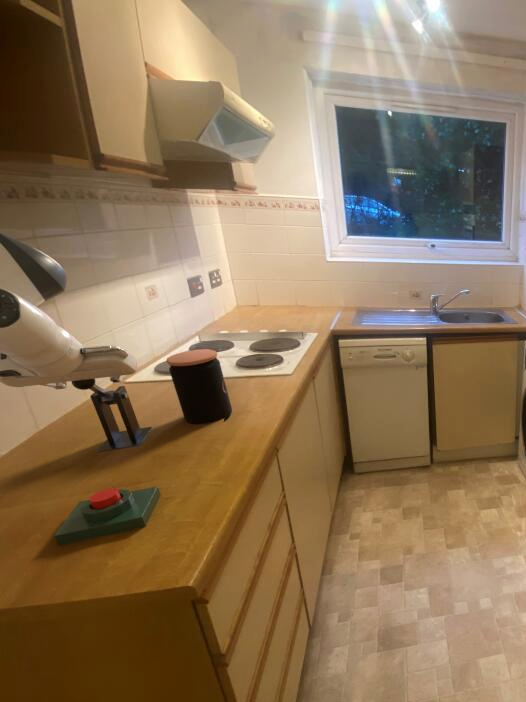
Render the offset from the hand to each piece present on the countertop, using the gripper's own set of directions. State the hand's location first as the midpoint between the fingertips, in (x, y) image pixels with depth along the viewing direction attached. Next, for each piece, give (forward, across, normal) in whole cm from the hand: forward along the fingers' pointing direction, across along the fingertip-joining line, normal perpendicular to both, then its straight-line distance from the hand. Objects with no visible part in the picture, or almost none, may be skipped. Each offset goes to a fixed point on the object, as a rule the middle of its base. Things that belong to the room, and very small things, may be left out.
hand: (90, 382), depth 93 cm
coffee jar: (+22, -16, +4) cm, 27 cm away
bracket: (+17, 0, +9) cm, 19 cm away
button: (-9, -7, +29) cm, 32 cm away
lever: (+3, 0, +2) cm, 4 cm away
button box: (-7, -7, +32) cm, 33 cm away
